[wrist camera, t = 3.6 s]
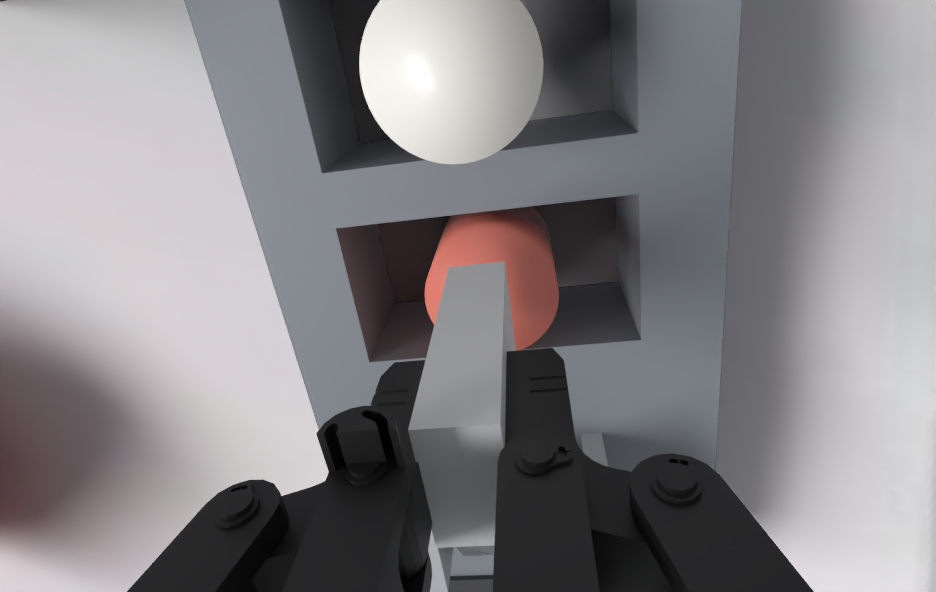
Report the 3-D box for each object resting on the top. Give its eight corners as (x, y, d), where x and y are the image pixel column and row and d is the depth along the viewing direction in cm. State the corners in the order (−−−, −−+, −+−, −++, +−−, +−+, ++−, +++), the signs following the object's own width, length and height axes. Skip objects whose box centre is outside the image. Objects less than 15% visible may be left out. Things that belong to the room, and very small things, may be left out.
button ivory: (383, -8, 16) (340, -18, 12) (529, -32, 15) (534, -51, 11) (410, 140, 17) (379, 174, 13) (542, 122, 17) (550, 153, 13)
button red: (433, 200, 20) (413, 242, 16) (546, 186, 20) (553, 227, 16) (450, 300, 22) (436, 360, 18) (554, 290, 21) (563, 349, 18)
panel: (246, -30, 18) (63, -65, 11) (693, -110, 17) (836, -216, 9) (398, 542, 29) (358, 718, 22) (678, 531, 28) (739, 719, 20)
